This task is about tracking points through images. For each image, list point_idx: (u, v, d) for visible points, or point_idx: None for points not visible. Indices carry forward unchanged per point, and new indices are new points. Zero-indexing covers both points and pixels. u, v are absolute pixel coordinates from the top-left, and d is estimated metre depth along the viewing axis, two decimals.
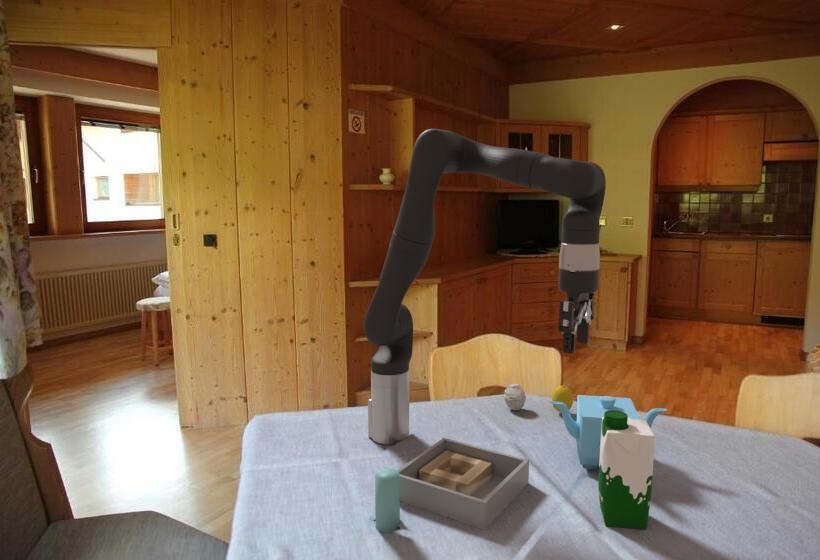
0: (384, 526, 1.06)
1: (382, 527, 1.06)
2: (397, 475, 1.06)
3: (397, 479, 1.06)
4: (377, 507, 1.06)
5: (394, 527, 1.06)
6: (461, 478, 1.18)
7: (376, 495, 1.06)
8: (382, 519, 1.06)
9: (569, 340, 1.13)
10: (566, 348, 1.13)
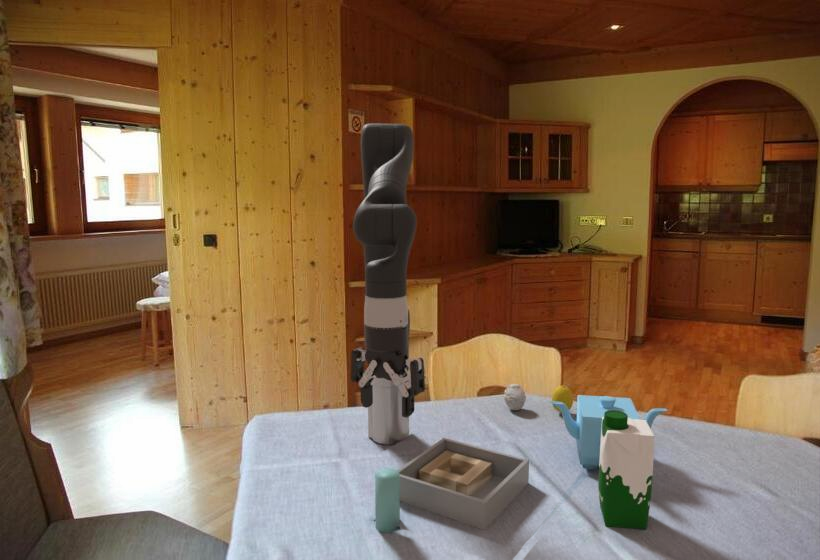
0: (384, 526, 1.06)
1: (382, 527, 1.06)
2: (397, 475, 1.06)
3: (397, 479, 1.06)
4: (377, 507, 1.06)
5: (394, 527, 1.06)
6: (461, 478, 1.18)
7: (376, 495, 1.06)
8: (382, 519, 1.06)
9: (413, 401, 1.02)
10: (411, 411, 1.02)
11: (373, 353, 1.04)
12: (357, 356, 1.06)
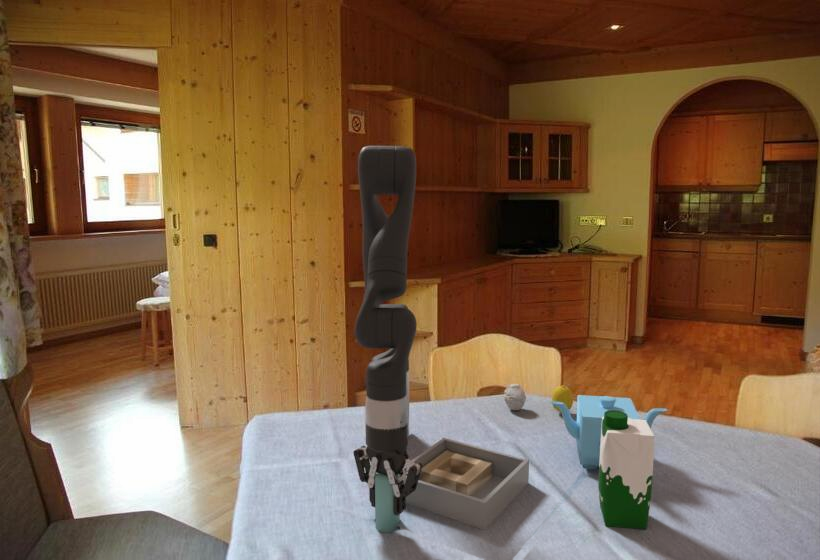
0: (384, 526, 1.06)
1: (381, 527, 1.06)
2: (397, 475, 1.06)
3: None
4: (377, 507, 1.06)
5: (394, 527, 1.06)
6: (461, 478, 1.18)
7: (376, 495, 1.06)
8: (381, 519, 1.06)
9: (404, 499, 1.06)
10: (402, 509, 1.06)
11: (374, 449, 1.06)
12: (359, 455, 1.09)
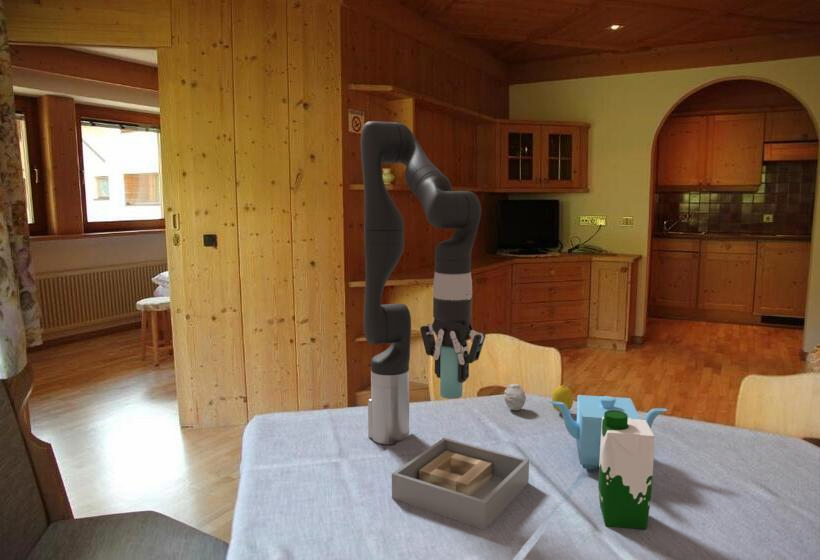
0: (449, 392, 1.17)
1: (446, 393, 1.17)
2: (461, 347, 1.17)
3: None
4: (442, 376, 1.17)
5: (458, 394, 1.17)
6: (461, 478, 1.18)
7: (442, 365, 1.17)
8: (447, 386, 1.17)
9: (468, 368, 1.17)
10: (466, 377, 1.17)
11: (440, 323, 1.17)
12: (426, 331, 1.19)
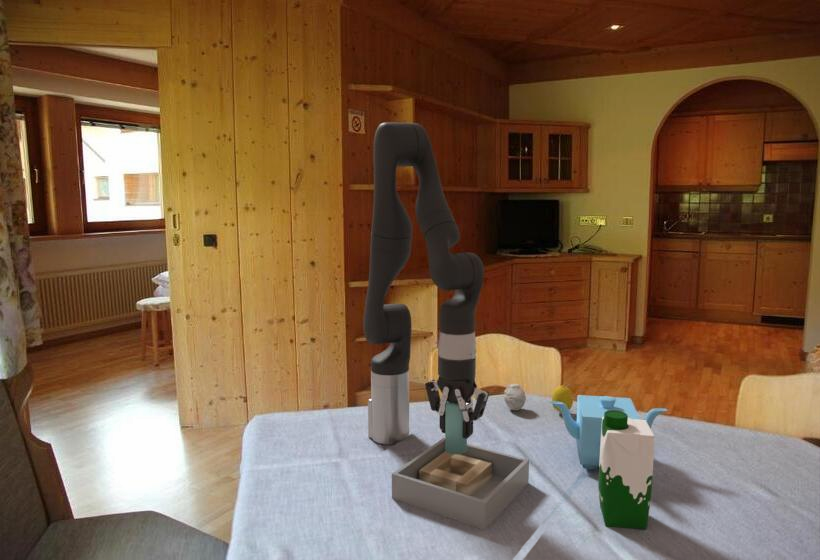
0: (454, 448, 1.20)
1: (452, 449, 1.20)
2: (465, 403, 1.20)
3: None
4: (447, 432, 1.20)
5: (462, 449, 1.20)
6: (461, 478, 1.18)
7: (447, 421, 1.20)
8: (452, 442, 1.20)
9: (472, 424, 1.20)
10: (470, 433, 1.19)
11: (445, 380, 1.20)
12: (431, 387, 1.22)
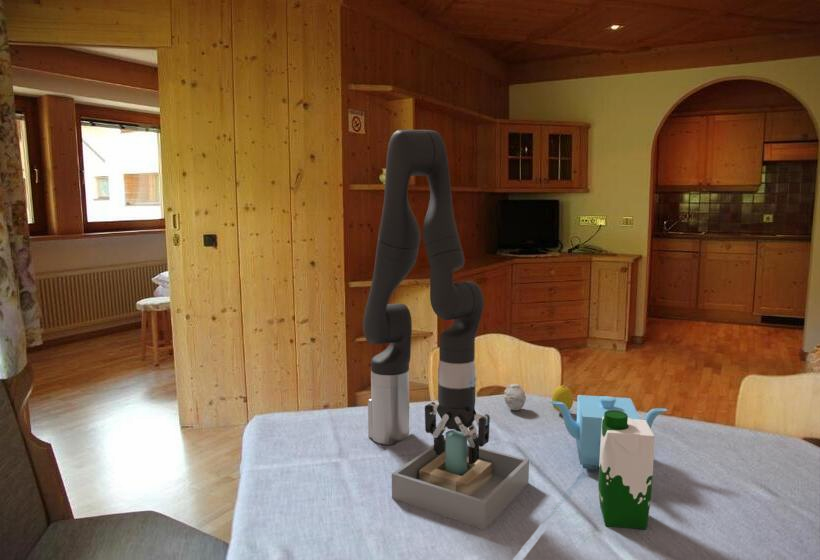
0: None
1: None
2: None
3: None
4: (448, 463, 1.21)
5: None
6: (461, 478, 1.18)
7: (447, 452, 1.21)
8: None
9: (478, 450, 1.20)
10: (476, 459, 1.19)
11: (445, 408, 1.21)
12: (430, 410, 1.23)
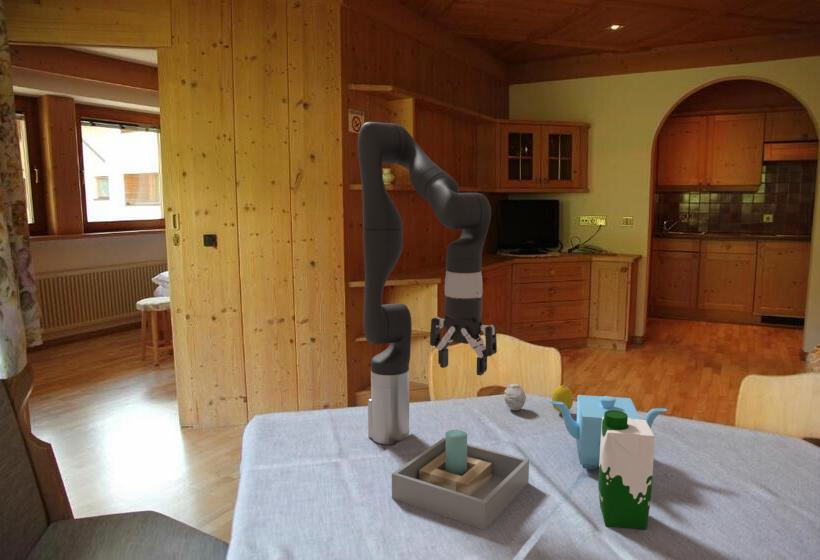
0: None
1: None
2: (465, 435, 1.21)
3: (465, 438, 1.20)
4: (448, 463, 1.21)
5: None
6: (461, 478, 1.18)
7: (447, 452, 1.21)
8: None
9: (486, 361, 1.20)
10: (484, 370, 1.19)
11: (451, 320, 1.21)
12: (436, 323, 1.23)
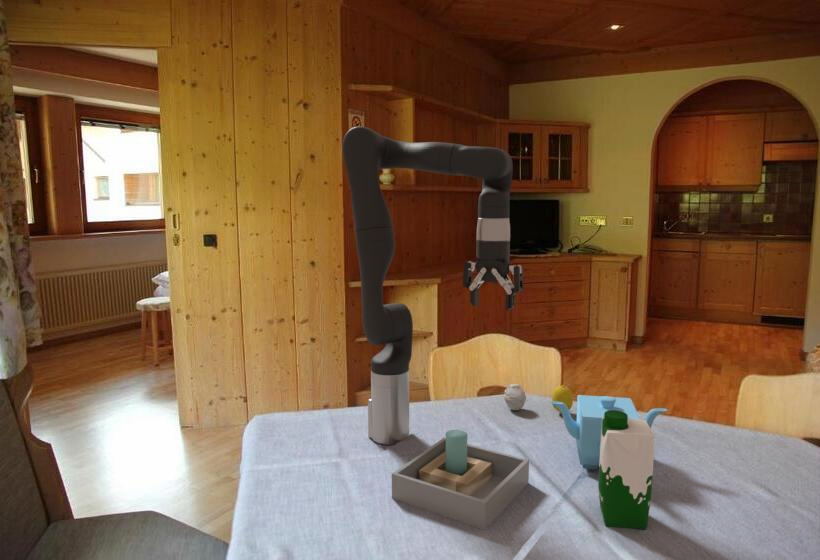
0: None
1: None
2: (465, 435, 1.21)
3: (466, 438, 1.20)
4: (448, 463, 1.21)
5: None
6: (461, 478, 1.18)
7: (447, 452, 1.21)
8: None
9: (514, 298, 1.35)
10: (512, 306, 1.35)
11: (482, 263, 1.37)
12: (468, 267, 1.39)
